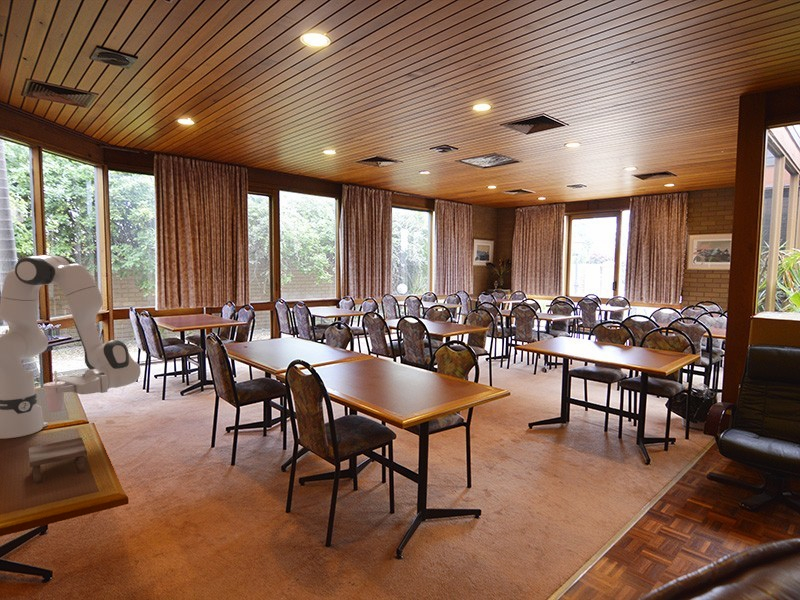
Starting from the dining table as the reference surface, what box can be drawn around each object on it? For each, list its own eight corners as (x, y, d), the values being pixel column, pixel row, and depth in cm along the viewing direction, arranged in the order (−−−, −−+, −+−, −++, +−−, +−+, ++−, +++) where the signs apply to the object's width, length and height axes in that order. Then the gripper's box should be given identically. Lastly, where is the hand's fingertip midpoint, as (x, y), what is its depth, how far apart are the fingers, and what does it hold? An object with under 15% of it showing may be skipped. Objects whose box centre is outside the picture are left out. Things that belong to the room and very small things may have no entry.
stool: (29, 469, 149) (28, 447, 149) (82, 457, 158) (81, 437, 158) (31, 485, 138) (29, 462, 138) (87, 471, 147) (86, 450, 147)
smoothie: (55, 414, 160) (53, 373, 159) (39, 413, 161) (37, 372, 160) (71, 408, 166) (69, 369, 165) (55, 407, 167) (53, 368, 166)
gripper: (79, 369, 179) (36, 376, 167) (108, 375, 169) (65, 384, 157) (80, 385, 180) (38, 394, 168) (109, 392, 169) (66, 402, 157)
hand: (51, 389), depth 162 cm, fingers closed on smoothie, 6 cm apart
